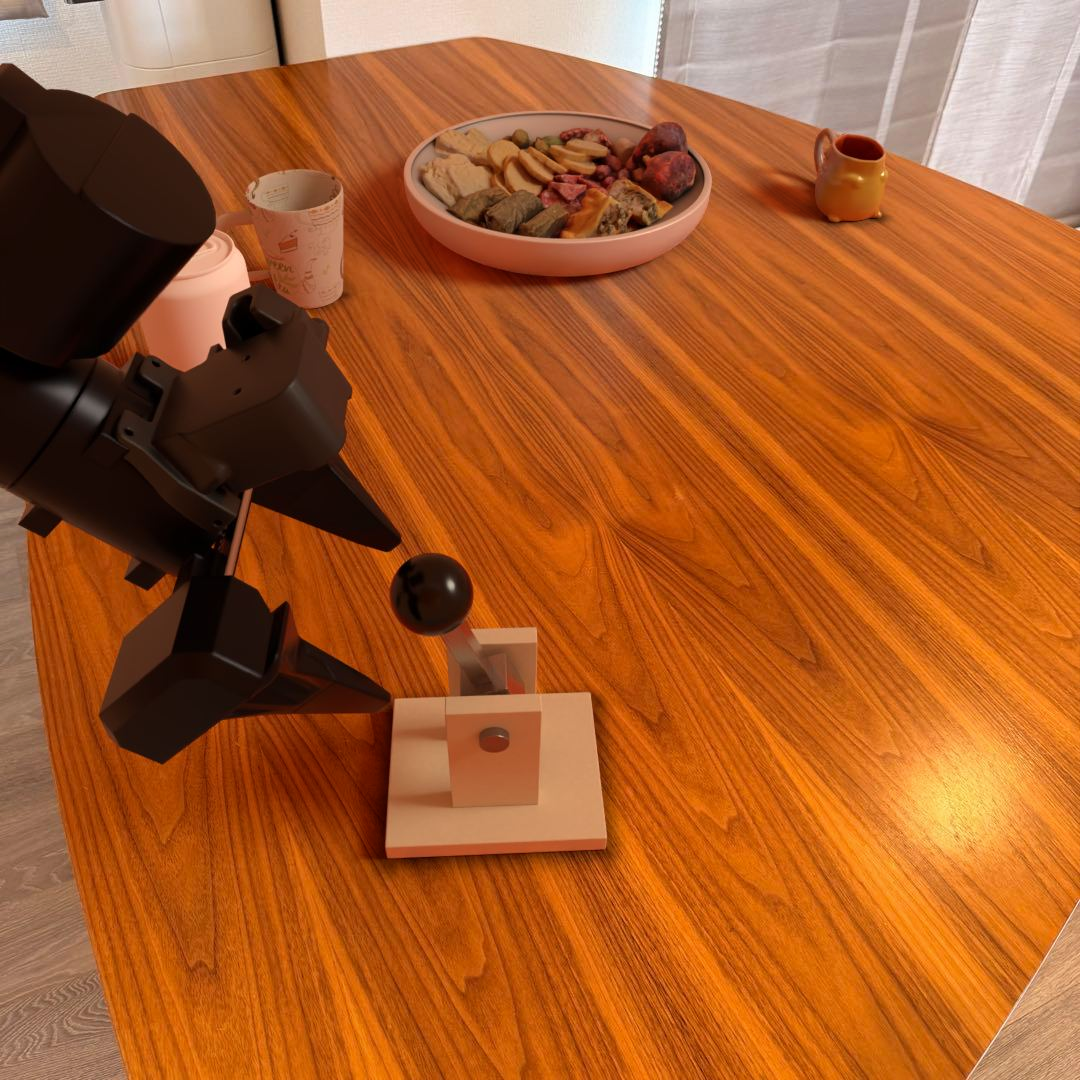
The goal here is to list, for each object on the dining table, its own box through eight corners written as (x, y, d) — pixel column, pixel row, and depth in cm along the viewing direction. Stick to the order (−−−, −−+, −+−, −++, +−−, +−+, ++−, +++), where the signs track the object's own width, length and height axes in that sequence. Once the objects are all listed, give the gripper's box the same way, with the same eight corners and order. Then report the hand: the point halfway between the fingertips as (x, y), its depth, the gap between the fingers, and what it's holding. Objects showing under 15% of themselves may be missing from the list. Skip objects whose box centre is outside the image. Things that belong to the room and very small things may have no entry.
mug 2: (889, 222, 99) (908, 158, 94) (826, 227, 98) (841, 162, 93) (843, 172, 107) (858, 111, 103) (784, 176, 106) (797, 114, 102)
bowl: (472, 320, 84) (469, 236, 79) (369, 180, 104) (361, 104, 98) (763, 256, 93) (779, 176, 88) (619, 139, 113) (624, 67, 107)
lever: (372, 610, 40) (454, 588, 39) (377, 548, 42) (455, 526, 41) (469, 747, 47) (539, 730, 46) (468, 686, 49) (535, 669, 49)
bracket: (386, 859, 49) (367, 755, 42) (395, 710, 55) (380, 600, 48) (605, 849, 49) (619, 745, 43) (589, 704, 56) (599, 594, 49)
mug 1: (361, 309, 85) (348, 206, 78) (220, 327, 83) (194, 221, 76) (349, 265, 91) (336, 165, 84) (216, 281, 88) (192, 178, 82)
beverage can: (144, 391, 76) (98, 250, 68) (232, 350, 80) (199, 212, 72) (203, 437, 72) (162, 292, 64) (292, 391, 76) (264, 250, 68)
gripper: (99, 465, 24) (534, 714, 32) (228, 152, 37) (513, 385, 46) (-95, 671, 29) (325, 840, 37) (80, 330, 42) (361, 512, 51)
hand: (390, 618), depth 43 cm, fingers open, 9 cm apart
